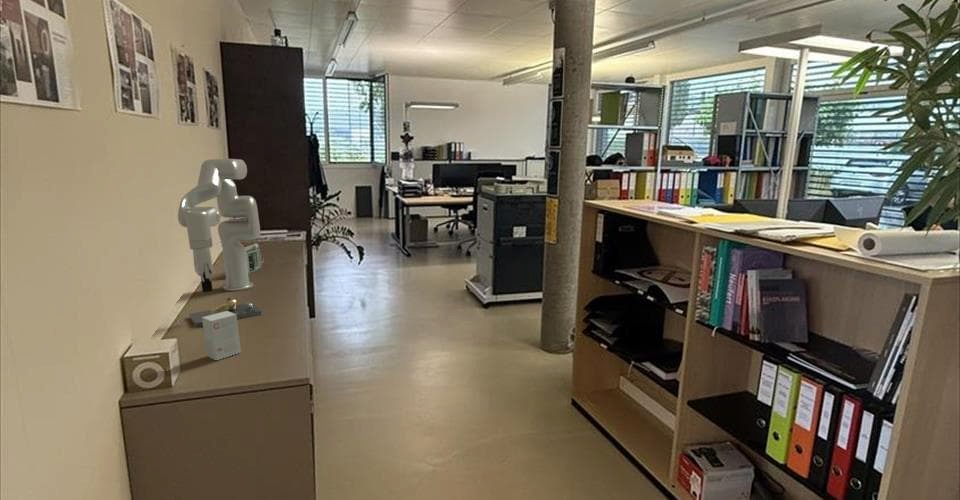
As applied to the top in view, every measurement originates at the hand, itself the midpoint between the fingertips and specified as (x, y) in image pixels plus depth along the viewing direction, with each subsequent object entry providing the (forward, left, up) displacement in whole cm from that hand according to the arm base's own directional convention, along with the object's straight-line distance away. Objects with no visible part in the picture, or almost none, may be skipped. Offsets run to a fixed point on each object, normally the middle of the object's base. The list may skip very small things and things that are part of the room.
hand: (207, 291), depth 199 cm
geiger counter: (-72, +31, -11) cm, 79 cm away
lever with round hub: (+2, +4, -9) cm, 10 cm away
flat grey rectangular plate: (0, +5, -11) cm, 12 cm away
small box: (+42, -3, -11) cm, 43 cm away
